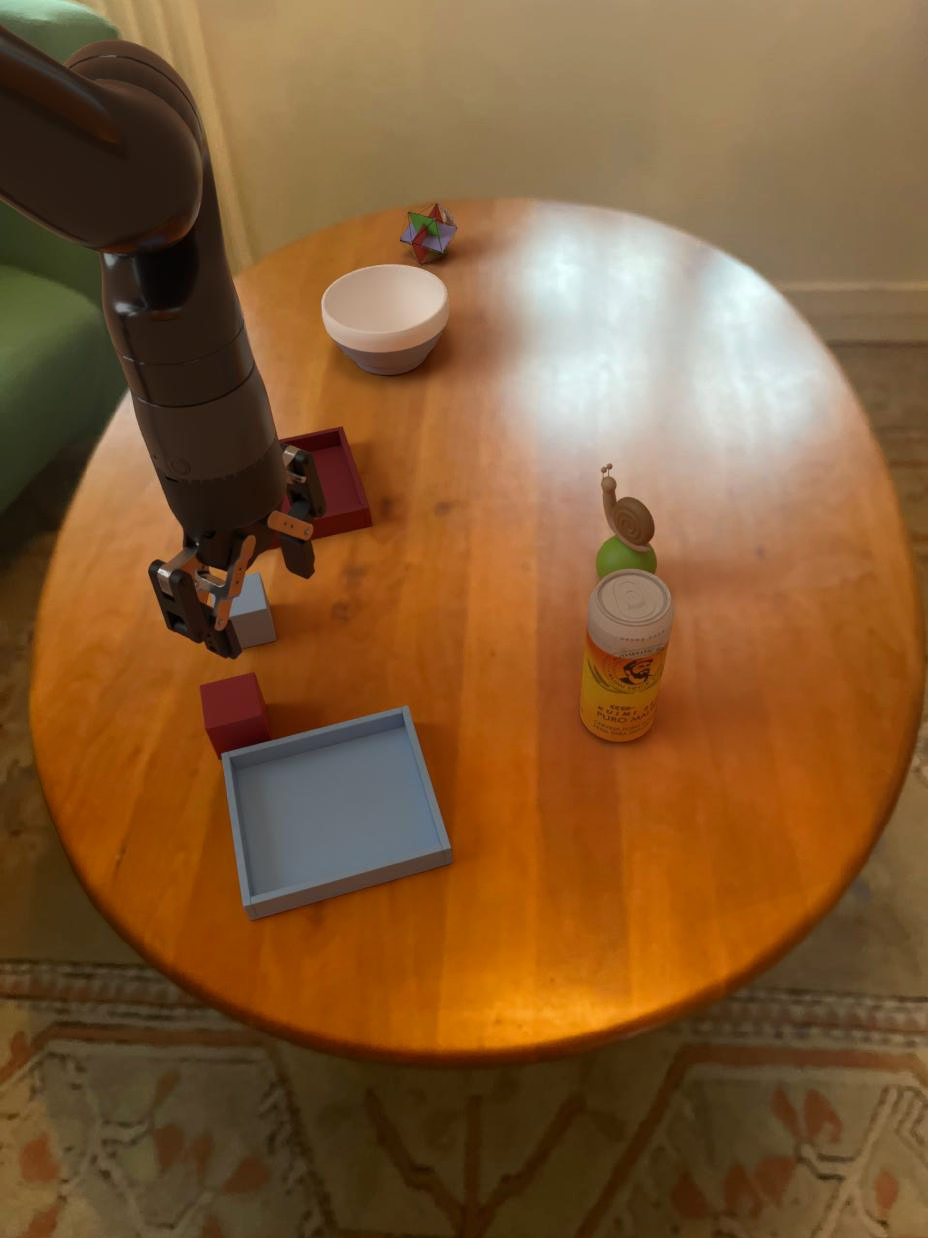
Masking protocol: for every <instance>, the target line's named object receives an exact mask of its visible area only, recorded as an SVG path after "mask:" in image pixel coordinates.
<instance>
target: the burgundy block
mask: <svg viewBox="0 0 928 1238" xmlns="http://www.w3.org/2000/svg"><path fill="white" fill-rule="evenodd" d="M199 694H200V700H201V709H202V716H203V724H204V730H205V733H206V735H207V736H208V739H209V741H210V743H211V745H212V748H213V750H214V752H215V754H216V757H217V759H218V760H222V755H221V754H222V753H225V752H229V751H233V750H237V749H241V748H244V747H248V746H252V745H256V744H260V743H264V742H268V741H272V740H273V738H272V737H273V736H272V731H271V726H270V720H269V715H268V710H267V705H266V701H265V699H264V695H263V693H262V689H261V687H260V684H259V680H258V678H257V676H256V672H254V671H252V672H248V673H244V674H240V675H236V676H231V677H228V678H223V679H219V680H215V681H211V682H207V683H204V684H200V685H199Z"/></svg>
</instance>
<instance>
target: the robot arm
mask: <svg viewBox="0 0 928 1238" xmlns="http://www.w3.org/2000/svg"><path fill="white" fill-rule="evenodd" d="M0 201H2V202H3V203H4V204H6V205H8V206H9V207H10V208H12V209H14V210H15V211H16V212H18V213H20V214H21V215H23V216H24V217H25V218H27V219H29V220H30V221H32V222H33V223H36V224H37V225H39V226H40V227H42V228H44V230H47V231H48V232H50V233H52V234H54V235H56V236H58V237H60V238H62V239H64V240H66V241H69V242H71V243H73V244H75V245H77V246H80V247H83V248H86V249H88V250H92V251H96V252H97V253H98V254H97V255H98V258H99V262H100V269H101V303H102V311H103V315H104V320H105V324H106V328H107V330H108V333H109V336H110V337H109V338H110V340H111V343H112V345H113V348H114V351H115V354H116V356H117V359H118V362H119V364H120V367H121V369H122V372H123V375H124V378H125V381H126V384H127V385H128V389H129V392H130V395H131V401H132V406H133V410H134V415H135V418H136V422H137V425H138V428H139V431H140V433H141V435H142V439H143V442H144V444H145V447H146V449H147V451H148V454H149V458H150V461H151V463H152V465H153V468H154V471H155V474H156V476H157V478H158V481H159V484H160V487H161V489H162V492H163V495H164V497H165V500H166V502H167V505H168V507H169V510H170V511H171V512H172V515H174V517H175V519H176V520H177V522H178V523H179V525H180V526H181V528H182V534H183V537H182V549H181V550H180V551H179V552H178V553H177V554H176V555H175V556H174V557H172V558H171V559H170V560H169V561H168V562H166V561H164V560H162V559H159V558H157V559H154V560H153V561H152V562H151V563H150V564H149V566H148V570H147V574H148V577H149V580H150V583H151V586H152V588H153V591H154V594H155V597H156V600H157V602H158V606H159V609H160V611H161V615H162V617H163V620H164V623H165V625H166V628H167V630H169V631H171V632H173V633H176V634H178V635H181V636H183V637H185V638H186V639H188V640H190V641H192V642H193V643H195V644H198V645H200V644H202V643H204V645H205V648H206V649H207V650H208V651H209V652H211V653H213V654H215V655H217V656H219V657H221V658H223V659H225V660H227V659H229V658H230V659H231V660H236V659H237V658H238V657H240V655H241V654H242V653H243V649H241V646H240V643H239V640H238V638H237V635H236V632H235V629H234V626H233V623H232V621H231V620H229V614H230V610H231V605H232V601H233V598H235V597H238V596H239V595H240V594H241V590H242V585H243V581H244V577H245V575H246V573H247V571H248V570H249V569H250V568H251V567H252V566H253V565H254V563H255V562H256V560H257V559H258V557H259V556H260V555H261V554H263V553H264V552H266V551H267V549H268V548H269V547H270V546H271V545H272V544H273V543H274V542H273V538H274V536H275V534H276V532H277V531H280V532H281V533H280V534H279V535H278V539H279V543H280V547H279V548H280V551H281V554H282V556H283V561H284V565H285V568H286V570H287V571H288V572H289V573H291V574H294V575H295V576H298V577H301V578H302V579H304V580H309V579H310V578H311V577H312V576H313V575H314V574H315V573H316V569H315V560H316V555H315V552H314V548H313V543H312V540H311V538H310V537H311V536H312V533H313V526H312V525H311V524H312V523H313V521H314V519H315V518H316V517H317V518H322V517H323V516H324V514H325V512H326V509H327V506H326V502H325V498H324V494H323V490H322V487H321V483H320V479H319V475H318V472H317V468H316V464H315V460H314V457H313V454H312V453H309V452H307V451H304V450H302V449H299V448H296V447H294V446H291V445H288V444H286V443H283V442H280V443H279V436H278V432H277V427H276V424H275V420H274V419H275V418H274V416H273V411H272V406H271V402H270V399H269V398H270V397H269V394H268V391H267V387H266V385H265V381H264V380H263V377H262V374H261V371H260V370H259V368H258V365H257V362H256V359H255V356H254V352H253V348H252V345H251V341H250V336H249V333H248V332H249V331H248V327H247V323H246V320H245V315H244V311H243V308H242V304H241V300H240V297H239V295H238V292H237V289H236V287H235V283H234V280H233V276H232V274H231V268H230V265H229V261H228V257H227V251H226V245H225V238H224V230H223V226H222V225H223V224H222V217H221V210H220V205H219V199H218V192H217V185H216V181H215V174H214V168H213V163H212V158H211V152H210V147H209V143H208V137H207V134H206V130H205V125H204V121H203V117H202V114H201V112H200V108H199V106H198V103H197V101H196V99H195V97H194V95H193V93H192V91H191V89H190V88H189V86H188V84H187V83H186V82H185V80H184V79H183V77H182V76H181V75H180V74H179V72H178V71H177V70H176V69H175V68H174V66H172V65H171V64H170V63H169V62H168V61H167V60H166V59H164V58H163V57H162V56H161V55H159V54H158V53H156V52H155V51H153V50H151V49H149V48H148V47H146V46H144V45H141V44H138V43H136V42H132V41H128V40H125V39H114V38H113V39H110V38H109V39H102V40H101V39H100V40H97V41H93V42H90V43H88V44H86V45H83V46H82V47H80V48H79V49H77V50H76V51H74V52H73V53H72V54H71V55H70V56H69V57H68V58H67V59H66V60H65V61H64V62H63V63H61V62H60V61H58V60H56V59H55V58H54V57H52V56H50V55H49V54H47V53H45V51H42V50H41V49H40V48H38V47H36V46H34V44H32V43H30V42H29V41H27V40H26V39H24V38H23V37H21V36H19V35H17V33H15V32H13V30H12V31H11V30H10V29H8V28H7V26H5V25H3V24H2V22H0ZM285 491H286V494H287V498H288V501H289V504H290V506H291V509H290V510H289V512H288V513H287V514H284V513H282V512H281V510H282V505H283V500H284V496H285ZM268 550H269V549H268ZM210 568H213V569H217V570H220V571H223V572H226V576H225V579H222V578H220V577H218V576H216V575H213V573H212V572H211V570H210ZM224 580H225V581H224ZM211 593H212V594H213V595H214V596H215V604H214V608H213V606H210V605H209V604H208V601H209V596H210V594H211Z"/></svg>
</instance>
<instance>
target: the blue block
mask: <svg viewBox="0 0 928 1238" xmlns="http://www.w3.org/2000/svg"><path fill="white" fill-rule="evenodd" d="M261 575H262V574H261V572H260V571H258V572H254V573H250V574H249V573H248V574H245V577H244V581H243V585H242V590H241V594H240V595H239V596H238V597H235V598H233V601H232V605H231V610H230V614H229V620H231V621H232V623H233V626H234V629H235V632H236V635H237V638H238V640H239V643H240V646H241V649H242V650H243V649H246V648H250V647H251V648H252V647H256V646H259V645H263V644H267V643H271V642H275V641H277V634H276V629H275V625H274V619H273V615H272V609H271V605H270V601H269V598H268V595H267V591H266V588H265V585H264V582H263V578H262V576H261ZM223 580H224V581H225V580H226V579H223ZM210 597H211V603H212V607H213V608H214V604H215V596H214V595H213V594H212V593H210Z"/></svg>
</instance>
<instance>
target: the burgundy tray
mask: <svg viewBox="0 0 928 1238" xmlns="http://www.w3.org/2000/svg"><path fill="white" fill-rule="evenodd" d="M278 440H279V443H280V442H283V443H286V444H288V445H291V446H294V447H296V448H299V449H302V450H304V451H307V452H309V453H312V454H313V457H314V460H315V464H316V468H317V472H318V475H319V479H320V483H321V487H322V490H323V494H324V498H325V502H326V506H327V509H326V512H325V514H324V516H323V517H322V518H317V517H316V518H315V519H314V521H313V523H312V524H311V525H312V526H313V533H312V536H311V537H310V538H311V541H312V540H315V539H320V538H325V537H330V536H332V535H337V534H342V533H346V532H350V531H355V530H360V529H364V528H369V527H372V526H373V522H372V517H371V511H370V510H371V509H370V506H369V503H368V499H367V496H366V493H365V490H364V487H363V485H362V481H361V477H360V475H359V472H358V468H357V465H356V462H355V458H354V457H353V453H352V450H351V447H350V444H349V441H348V438H347V434H346V432H345V429H344V425H343V426H336V427H331V428H327V429H322V430H318V431H312V432H307V433H304V434H299V435H294V436H288V437H284V438H278ZM290 509H291V506H290V504H289V501H288V498H287V494H286V491H285V496H284V500H283V505H282V510H281V512H282V513H284V514H287V513H288V512H289V510H290ZM280 533H281V532H280V531H277V532H276V534H275V536H274V538H273V542H274V543H273V544H272V545H271V546H270V547H269V548H268V549H267V550H271V549H277V548H281V547H280V543H279V539H278V535H279V534H280ZM267 550H266V551H267Z"/></svg>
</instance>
